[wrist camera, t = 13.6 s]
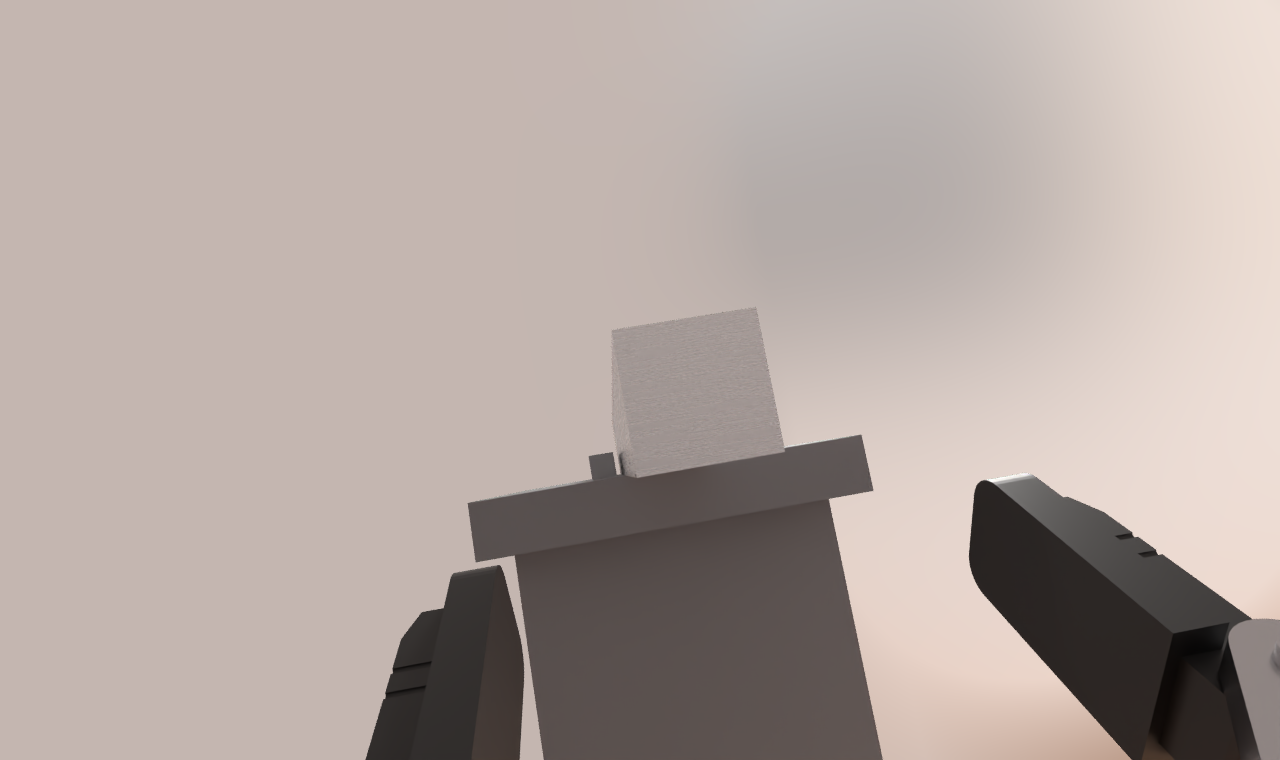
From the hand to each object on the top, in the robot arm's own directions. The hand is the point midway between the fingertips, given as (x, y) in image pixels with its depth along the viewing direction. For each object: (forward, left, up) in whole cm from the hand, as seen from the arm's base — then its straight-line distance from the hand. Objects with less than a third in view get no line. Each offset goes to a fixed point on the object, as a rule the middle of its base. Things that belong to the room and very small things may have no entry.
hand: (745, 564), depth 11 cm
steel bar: (+12, +8, +2) cm, 14 cm away
